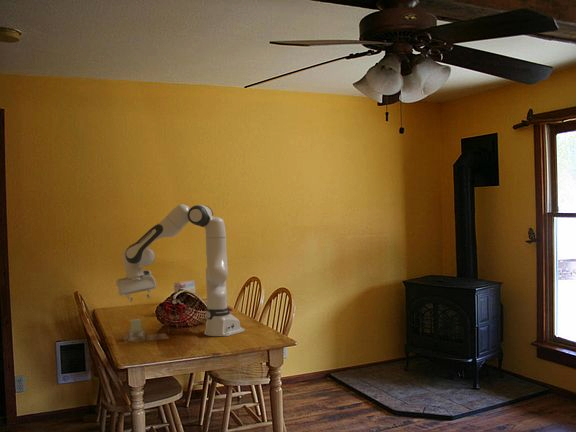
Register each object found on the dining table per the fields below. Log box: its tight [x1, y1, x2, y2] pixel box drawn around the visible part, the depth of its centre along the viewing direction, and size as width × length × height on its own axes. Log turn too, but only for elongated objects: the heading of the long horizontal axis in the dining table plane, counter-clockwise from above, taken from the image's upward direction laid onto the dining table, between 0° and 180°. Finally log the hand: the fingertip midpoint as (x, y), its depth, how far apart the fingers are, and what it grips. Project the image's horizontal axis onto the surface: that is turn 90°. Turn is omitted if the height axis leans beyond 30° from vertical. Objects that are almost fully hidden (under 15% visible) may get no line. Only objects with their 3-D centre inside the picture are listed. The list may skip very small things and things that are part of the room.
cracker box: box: [173, 279, 196, 295], centre depth 349 cm, size 14×6×21 cm, turn 149°
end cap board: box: [122, 328, 170, 344], centre depth 282 cm, size 22×12×6 cm, turn 112°
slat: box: [130, 318, 142, 333], centre depth 280 cm, size 5×2×10 cm, turn 112°
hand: (140, 299), depth 294 cm, fingers open, 8 cm apart
